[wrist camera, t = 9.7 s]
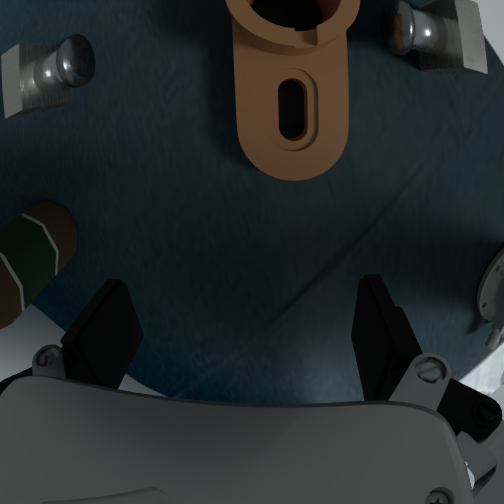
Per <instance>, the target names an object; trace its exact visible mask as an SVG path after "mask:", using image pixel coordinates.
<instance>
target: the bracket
mask: <svg viewBox="0 0 504 504" xmlns="http://www.w3.org/2000/svg"><path fill="white" fill-rule="evenodd" d="M315 1H316V3H317V4H318V6H319V7H320V9H321V12H322V16H323V23H322V24H319V25H317V26H316V28H315V29H312V30H307V31H295V28H287V27H282V26H278V25H275V24H273V23H270V22H268V21H266V20H265V19H263V18H262V17H260V16H259V15H258V14H257V13H255V12H254V11H253V9H252V5H253V3H254V2H255V0H226V3H227V6H228V8H229V11H230V13H231V15H232V30H233V53H234V74H235V95H236V115H237V132H238V138H239V142H240V144H241V147H242V149H243V151H244V153H245V154H246V156H247V157H248V159H249V160H250V161H251V162H252V163H253V164H254V165H255V166H256V167H257V168H258V169H260V170H261V171H262V172H264V173H266V174H268V175H270V176H272V177H275V178H278V179H282V180H289V181H299V180H306V179H310V178H313V177H316V176H318V175H320V174H322V173H323V172H325V171H326V170H328V169H329V168H330V167H331V166H333V165H334V163H335V162H336V161H337V160H338V159H339V157H340V156H341V154H342V152H343V150H344V148H345V145H346V142H347V137H348V115H349V100H348V59H347V39H346V30H347V29H348V28H349V27H350V26H351V24H352V23H353V21H354V20H355V18H356V16H357V14H358V11H359V6H360V0H315ZM287 80H293V81H296V82H298V83H299V84H300V85H301V86H302V88H303V91H304V130H303V132H302V133H301V134H300V135H299V136H297V137H295V138H288V137H285V136H284V135H282V134H281V133H280V131H279V117H278V87H279V85H280V84H281V83H282V82H284V81H287Z"/></svg>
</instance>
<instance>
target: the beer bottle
mask: <svg viewBox="0 0 504 504" xmlns="http://www.w3.org/2000/svg"><path fill="white" fill-rule="evenodd" d="M78 231H79V230H78V229H77V227H76V225H75V223H74V221H73V219H72V217H71V215H70V213H69V211H68V210H67V208H65V207H62V206H60V205H58V204H56V203H54V202H52V201H50V200H45V201H43V202H41V203H39V204H37V205H35V206H34V207H32V208H31V209H29V210H28V211H26V212H24V213H23V214H21V215H20V216H18V217H17V218H15V219H14V220H12V221H11V222H9V223H8V224H7V225H5V226H4V227H2V228H1V229H0V329H2V328H4V327H6V326H8V325H10V324H11V323H12V322H13V321H14V320H15V319H16V318H17V317H18V316H19V315H20V314H21V313H22V312H23V311H24V310H25V309H26V308H27V306H28V305H29V304H30V303H31V302H32V301H33V300H34V299H35V297H36V296H37V295H38V294H39V293H40V292H41V291H42V290H43V289H44V287H45V286H46V285H47V284H48V283H49V282H50V281H51V280H52V279H53V278H54V277H55V276H56V275H57V273H58V272H59V271H60V270H61V269H62V268H63V267H64V266H65V265H66V264H67V263H68V262H69V261H70V260H71V259H72V257H73V256H74V255H75V254H76V247H77V239H78Z"/></svg>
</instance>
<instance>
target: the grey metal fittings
mask: <svg viewBox="0 0 504 504" xmlns="http://www.w3.org/2000/svg"><path fill="white" fill-rule="evenodd" d="M381 34H382V38H383V42H384V44H385V47H386V48H387V50H388V51H389V52H390V53H393V54H400V55H405V54H407V53H408V52H409V51H410V50H417V51H418V52H419V64H420V71H425V72H430V73H435V74H439V75H451V74H487V61H486V52H485V43H484V36H483V30H482V24H481V19H480V13H479V8H478V4H477V3H476V2H473V1H471V0H437V1H435V2H432V3H430V4H428V5H426V6H424V7H422V8H420V9H418V10H416V9H412V8H411V7H410V5H409V4H408V3H407V2H406V1H405V0H386V1H385V3H384V5H383V8H382V12H381ZM94 71H95V57H94V52H93V49H92V46H91V44H90V43H89V41H88V40H87V39H86V38H85V37H84V36H83V35H80V34H74V35H72V36H70V37H68V38H65V39H64V40H63V41H62V42H61V43H60V44H59V46H58V47H56V46H47V45H35V44H21V43H19V44H17V45H16V46H14V47H13V48H11V49H10V50H8V51H7V52H6V53H4V54H3V55H2V88H3V101H4V111H5V119H7V118H11V117H15V116H20V115H24V114H29V113H34V112H40V111H45V110H51V109H55V108H57V107H60V106H62V105H65V104H67V103H70V95H69V87H72V88H77V87H80V86H83V85H85V84H87V83H89V82H90V81H91V79H92V77H93V75H94Z"/></svg>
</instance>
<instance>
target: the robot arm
mask: <svg viewBox="0 0 504 504" xmlns="http://www.w3.org/2000/svg"><path fill="white" fill-rule="evenodd" d="M477 307H478V310H479V312H480V313H481V315H482V316H483V317H484V318H485V319H487V320H489V321H493V324H492V329H493V330H492V332H491V333H490V335H489V337H488V339H487V341H486V343H485V344H486V347H487V348H488V349H491V350H493V349H495V348H496V346H497V344H498V342H499V340H500V337H501V336H502V338H504V248H503V249H502V250H501V251H500V252H499V253H498V254H497V255H496V256H495V258H494V259H493V260H492V261H491V263H490V265H489V266H488V268H487V269H486V271H485V273H484V275H483V277H482V280H481V282H480V285H479V289H478V293H477ZM351 337H352V343H353V348H354V352H355V356H356V361H357V365H358V370H359V375H360V380H361V384H362V389H363V394H364V399H365V401H351V402H334V403H308V404H249V403H227V402H211V401H199V400H189V399H179V398H171V397H163V396H155V395H148V394H142V393H135V392H130V391H123V390H118V388H119V386H120V384H121V381H122V379H123V377H124V375H125V373H126V371H127V369H128V367H129V365H130V363H131V361H132V359H133V357H134V355H135V353H136V351H137V349H138V347H139V345H140V343H141V341H142V338H143V331H142V328H141V325H140V323H139V320H138V317H137V314H136V312H135V309H134V306H133V303H132V300H131V297H130V295H129V292H128V289H127V286H126V284H125V283H123V281H122V280H120V279H108V280H107V281H106V282H105V283H104V284H103V286H102V287H101V288H100V289H99V291H98V292H97V293H96V294H95V295H94V297H93V298H92V299H91V300H90V302H89V303H88V304H87V306H86V307H85V308H84V309H83V311H82V312H81V313H80V315H79V316H78V317H77V318H76V320H75V321H74V322H73V324H72V325H71V326H70V328H69V329H68V330H67V332H66V333H65V334H64V336H63V337H62V339H61V340H60V341H61V343H62V345H63V346H62V348H60V347H59V346H57V345H47V346H44V347H42V348H41V349H40V350H38V351H37V353H36V354H35V355H34V357H33V361H32V367H31V368H29V369H26V370H24V371H22V372H20V373H17V374H15V375H13V376H11V377H9V378H7V379H4V380H2V381H1V382H0V504H504V420H503V419H502V410H501V407H500V405H499V404H498V403H497V402H496V401H495V400H494V399H492V398H490V397H489V396H487V395H484V394H482V393H480V392H478V391H476V390H474V389H472V388H470V387H468V386H466V385H464V384H462V383H460V382H458V381H456V380H454V379H452V378H450V377H451V368H450V366H449V364H448V362H447V361H446V360H445V359H444V358H442V357H440V356H439V355H436V354H432V353H425V354H423V353H422V350H421V348H420V346H419V343H418V341H417V339H416V337H415V334H414V332H413V330H412V328H411V326H410V324H409V321H408V319H407V317H406V315H405V313H404V311H403V309H402V308H401V307H400V306H397V307H396V306H395V304H394V302H393V300H392V298H391V296H390V294H389V292H388V290H387V288H386V285H385V283H384V281H383V279H382V277H381V275H380V274H367V275H365V276H364V278H363V279H360V280H359V286H358V293H357V301H356V307H355V314H354V320H353V327H352V334H351ZM465 461H466V462H467V463H468V465H467V466H466V463H465ZM467 468H469V469H470V471H471V472H472V473H473V475H474V478H475V483H474V488H473V489H472V488H471V483H470V479H469V475H468V471H467ZM428 494H429V495H428Z"/></svg>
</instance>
